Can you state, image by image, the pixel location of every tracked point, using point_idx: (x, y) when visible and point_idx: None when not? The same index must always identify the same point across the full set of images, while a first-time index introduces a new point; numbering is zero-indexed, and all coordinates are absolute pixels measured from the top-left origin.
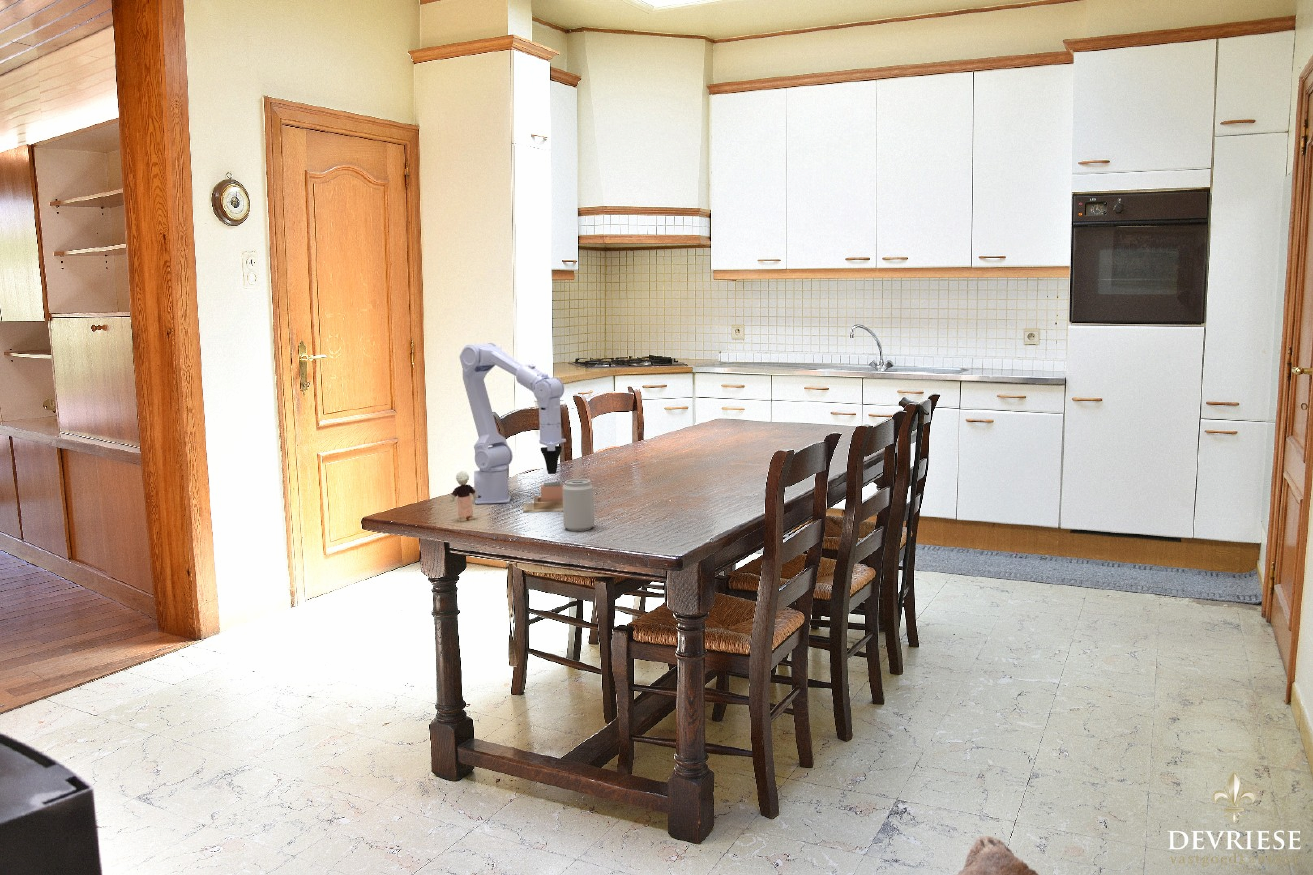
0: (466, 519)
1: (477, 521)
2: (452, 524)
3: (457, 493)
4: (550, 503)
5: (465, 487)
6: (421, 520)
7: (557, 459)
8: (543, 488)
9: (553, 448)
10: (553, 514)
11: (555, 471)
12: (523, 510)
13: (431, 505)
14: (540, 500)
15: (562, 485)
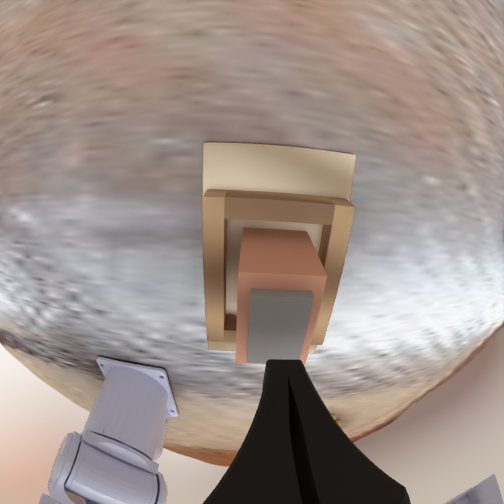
0: (338, 421)
1: (356, 407)
2: (355, 427)
3: None
4: (335, 293)
5: None
6: None
7: (349, 441)
8: (306, 352)
9: (492, 488)
10: (380, 270)
11: (305, 373)
12: (314, 351)
13: (179, 445)
14: (224, 316)
15: (293, 279)
